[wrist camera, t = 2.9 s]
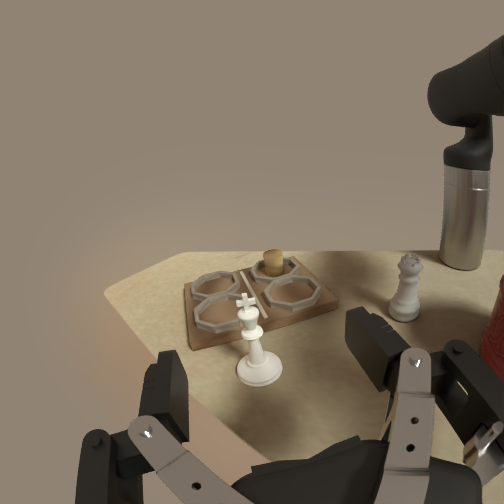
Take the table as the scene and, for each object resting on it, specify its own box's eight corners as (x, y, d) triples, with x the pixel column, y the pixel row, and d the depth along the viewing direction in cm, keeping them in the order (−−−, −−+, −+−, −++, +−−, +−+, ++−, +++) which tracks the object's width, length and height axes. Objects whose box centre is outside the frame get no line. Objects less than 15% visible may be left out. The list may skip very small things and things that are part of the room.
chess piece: (286, 382, 25) (276, 304, 22) (238, 390, 25) (216, 315, 21) (278, 350, 30) (268, 276, 26) (236, 358, 30) (217, 285, 26)
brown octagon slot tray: (294, 263, 50) (291, 238, 48) (338, 307, 35) (338, 276, 33) (186, 291, 46) (179, 265, 44) (192, 351, 32) (181, 320, 30)
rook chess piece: (381, 315, 32) (387, 260, 29) (398, 299, 34) (403, 248, 31) (409, 328, 28) (419, 271, 25) (424, 310, 30) (433, 257, 27)
